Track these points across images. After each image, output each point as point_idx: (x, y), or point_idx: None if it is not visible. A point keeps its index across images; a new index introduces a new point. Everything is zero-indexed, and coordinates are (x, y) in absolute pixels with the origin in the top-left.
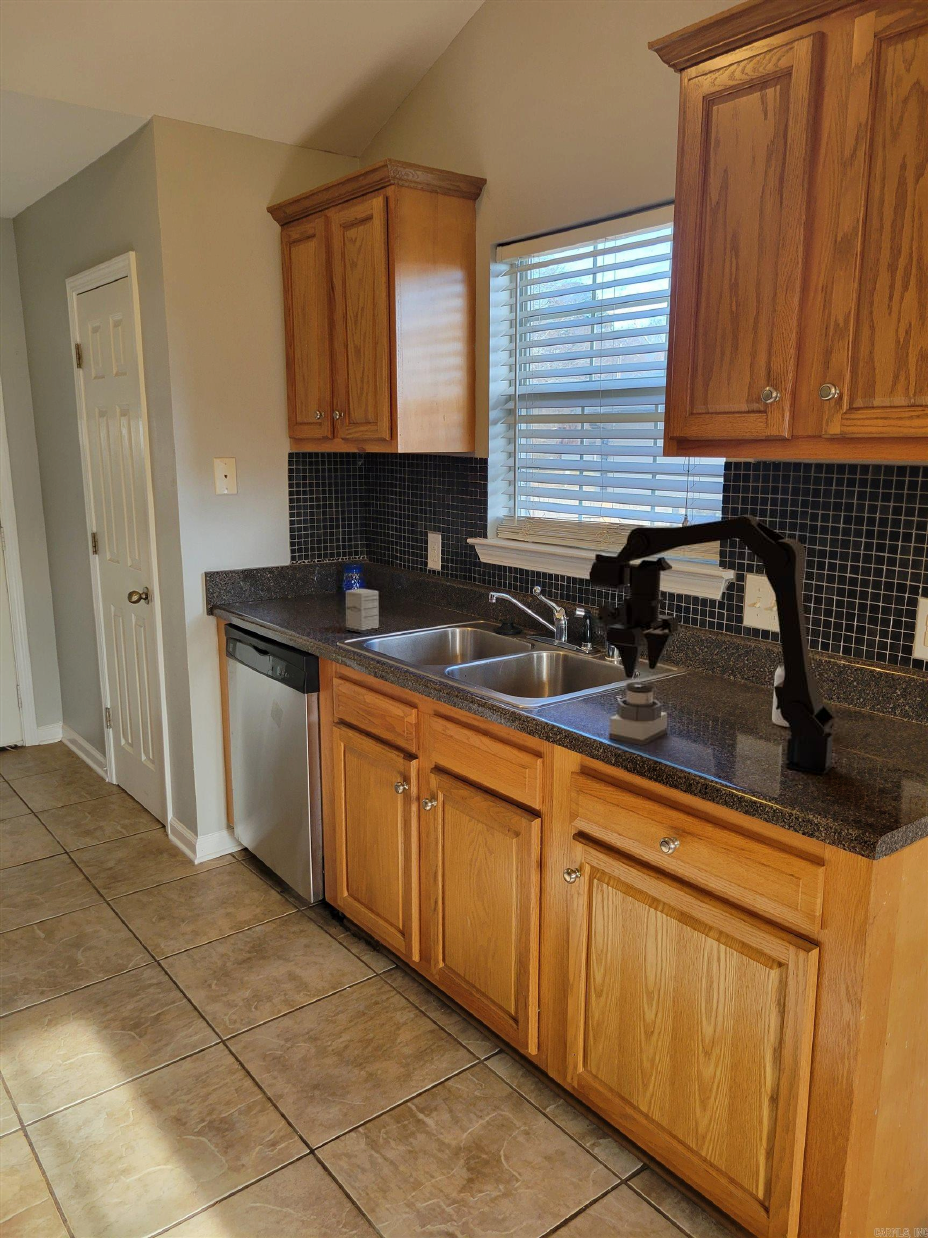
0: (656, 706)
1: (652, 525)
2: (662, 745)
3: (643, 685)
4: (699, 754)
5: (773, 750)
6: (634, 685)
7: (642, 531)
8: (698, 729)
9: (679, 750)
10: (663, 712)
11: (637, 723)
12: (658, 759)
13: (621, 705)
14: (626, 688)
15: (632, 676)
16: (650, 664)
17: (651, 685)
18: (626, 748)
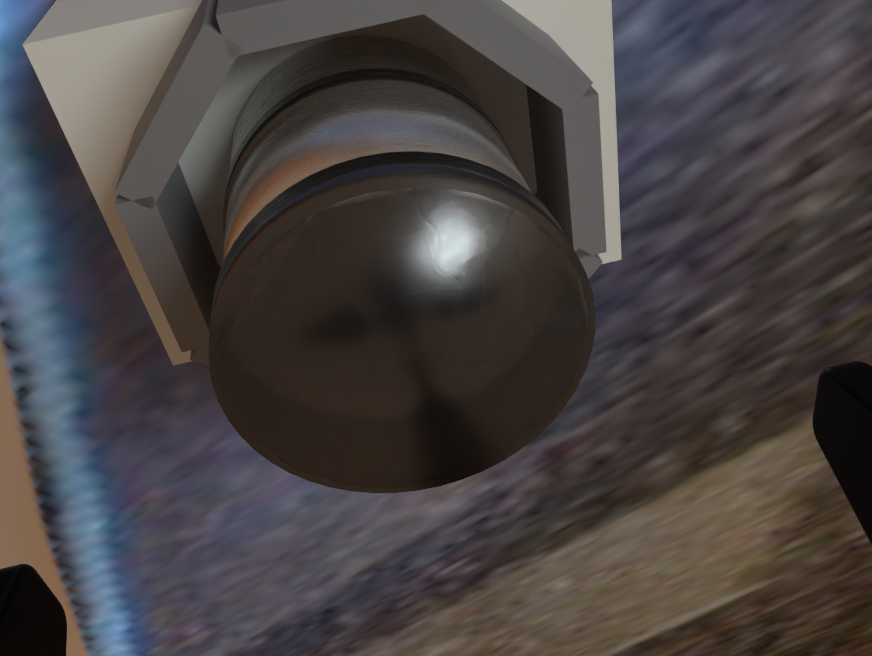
0: None
1: None
2: None
3: (429, 387)
4: (352, 519)
5: (666, 609)
6: (330, 329)
7: None
8: (783, 252)
9: None
10: (612, 234)
11: (153, 323)
12: (78, 478)
13: (121, 178)
14: (248, 228)
15: (54, 646)
16: (865, 431)
17: (511, 428)
18: (26, 252)
